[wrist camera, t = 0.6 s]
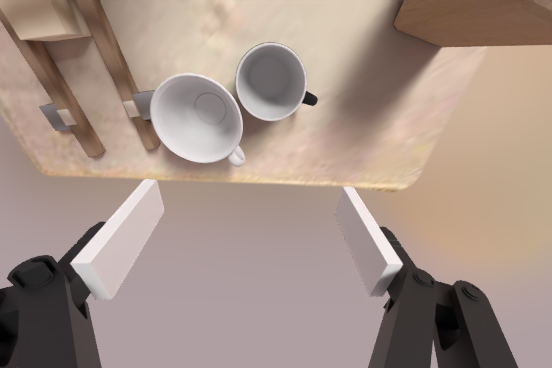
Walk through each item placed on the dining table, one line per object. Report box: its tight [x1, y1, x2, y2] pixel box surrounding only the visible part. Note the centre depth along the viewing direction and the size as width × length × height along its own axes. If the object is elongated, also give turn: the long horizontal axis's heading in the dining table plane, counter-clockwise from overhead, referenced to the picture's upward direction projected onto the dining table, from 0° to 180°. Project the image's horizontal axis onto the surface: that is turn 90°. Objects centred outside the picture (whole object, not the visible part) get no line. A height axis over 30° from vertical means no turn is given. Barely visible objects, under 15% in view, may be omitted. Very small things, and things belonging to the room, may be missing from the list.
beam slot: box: [0, 0, 161, 157], centre depth 32 cm, size 24×18×3 cm
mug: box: [235, 42, 318, 121], centre depth 31 cm, size 12×9×10 cm
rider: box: [0, 0, 93, 41], centre depth 27 cm, size 6×6×5 cm
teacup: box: [150, 73, 245, 167], centre depth 33 cm, size 12×15×10 cm
